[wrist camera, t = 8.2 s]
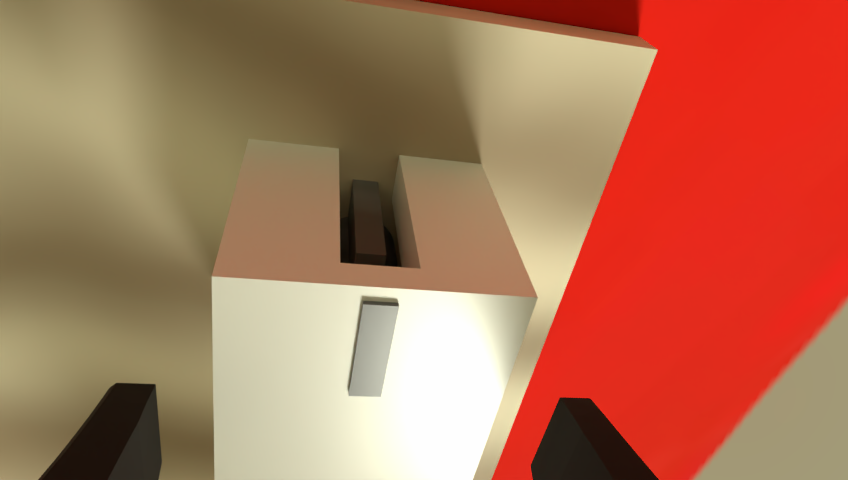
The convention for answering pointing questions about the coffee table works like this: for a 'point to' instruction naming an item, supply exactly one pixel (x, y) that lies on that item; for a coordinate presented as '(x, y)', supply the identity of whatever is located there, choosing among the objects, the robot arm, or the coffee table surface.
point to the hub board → (220, 166)
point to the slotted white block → (361, 324)
